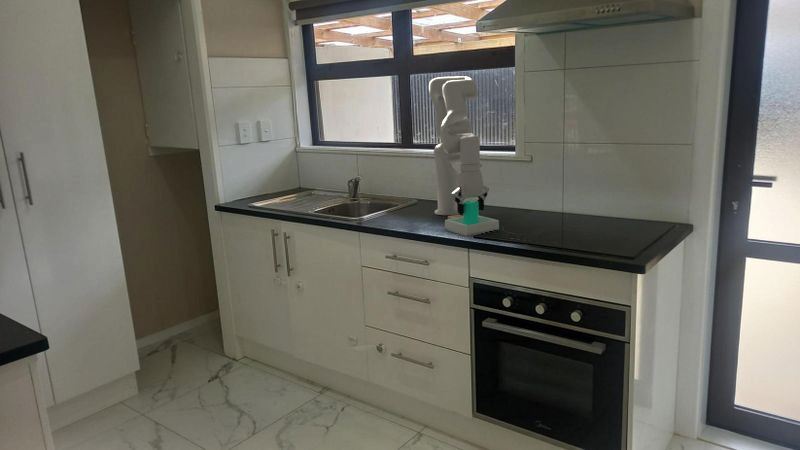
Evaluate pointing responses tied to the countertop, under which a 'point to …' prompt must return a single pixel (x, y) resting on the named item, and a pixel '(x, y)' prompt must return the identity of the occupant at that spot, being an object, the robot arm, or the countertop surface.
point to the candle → (471, 212)
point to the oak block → (454, 216)
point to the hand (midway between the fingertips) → (470, 211)
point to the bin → (471, 226)
